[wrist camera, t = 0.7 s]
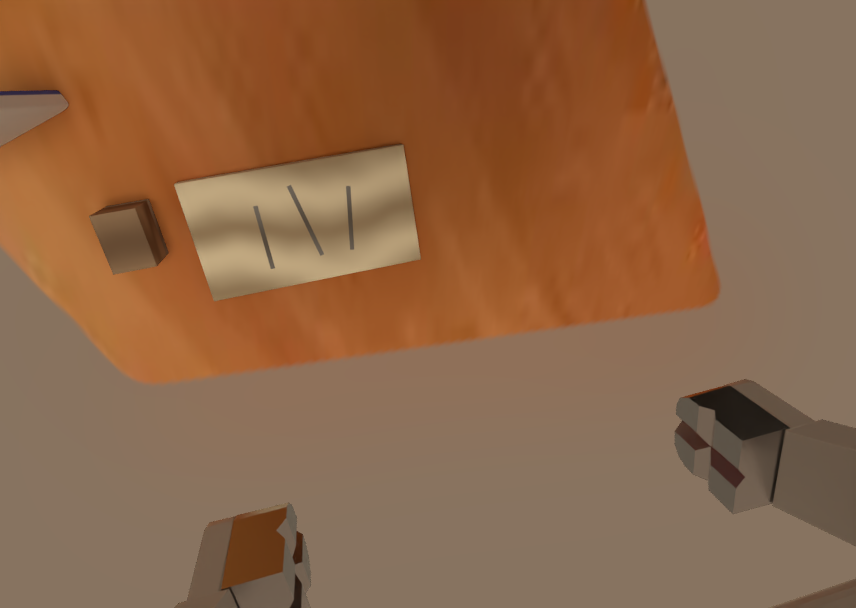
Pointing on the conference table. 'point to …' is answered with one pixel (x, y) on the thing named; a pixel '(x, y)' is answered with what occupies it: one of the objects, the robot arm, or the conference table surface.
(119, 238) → the block
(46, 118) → the hard drive
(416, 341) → the conference table surface
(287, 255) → the board
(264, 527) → the robot arm
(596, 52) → the conference table surface
